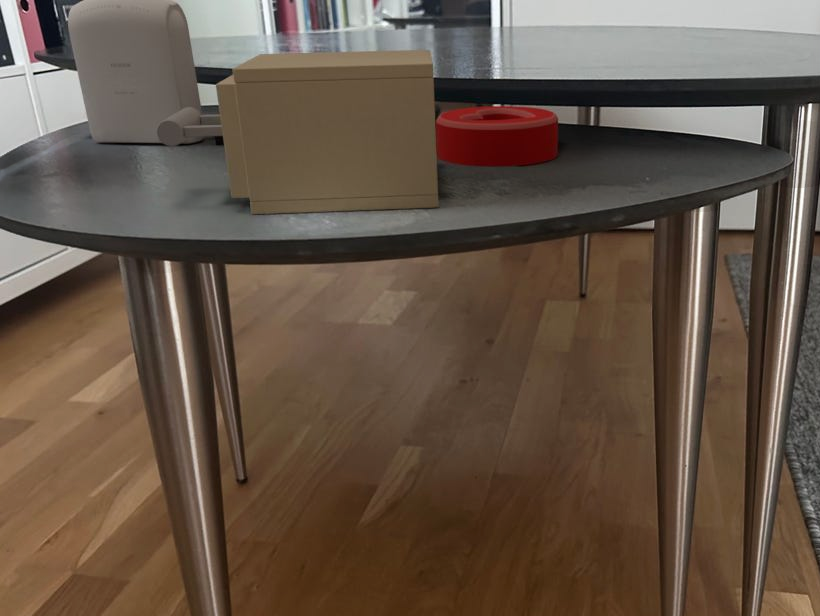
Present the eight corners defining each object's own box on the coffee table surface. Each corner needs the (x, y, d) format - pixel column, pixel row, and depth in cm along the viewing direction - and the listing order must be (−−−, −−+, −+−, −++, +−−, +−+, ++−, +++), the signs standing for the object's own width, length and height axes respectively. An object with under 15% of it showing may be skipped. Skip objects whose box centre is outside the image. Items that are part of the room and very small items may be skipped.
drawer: (160, 201, 52) (140, 86, 50) (192, 172, 60) (176, 71, 57) (401, 192, 53) (394, 79, 50) (402, 165, 61) (396, 65, 58)
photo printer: (84, 145, 76) (52, -6, 70) (112, 136, 79) (84, -8, 74) (189, 147, 74) (165, -8, 68) (213, 138, 77) (191, -10, 72)
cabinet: (251, 214, 53) (231, 68, 49) (274, 180, 61) (259, 53, 58) (438, 207, 53) (433, 63, 50) (434, 174, 62) (429, 49, 58)
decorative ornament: (558, 166, 64) (559, 123, 62) (431, 167, 64) (429, 124, 63) (556, 143, 72) (557, 104, 71) (443, 143, 73) (442, 105, 72)
